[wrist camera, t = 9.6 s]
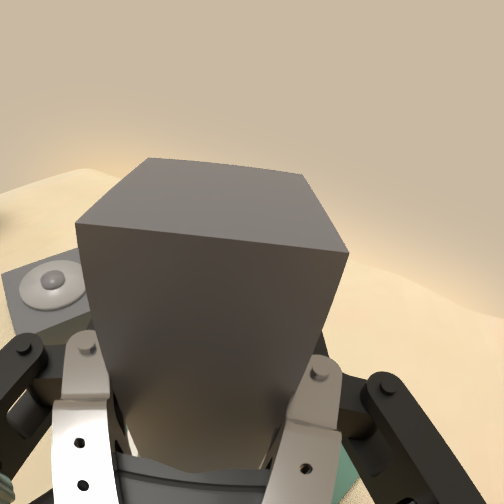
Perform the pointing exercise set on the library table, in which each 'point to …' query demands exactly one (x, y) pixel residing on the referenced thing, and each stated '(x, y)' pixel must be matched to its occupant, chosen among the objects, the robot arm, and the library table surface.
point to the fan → (48, 298)
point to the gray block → (207, 303)
